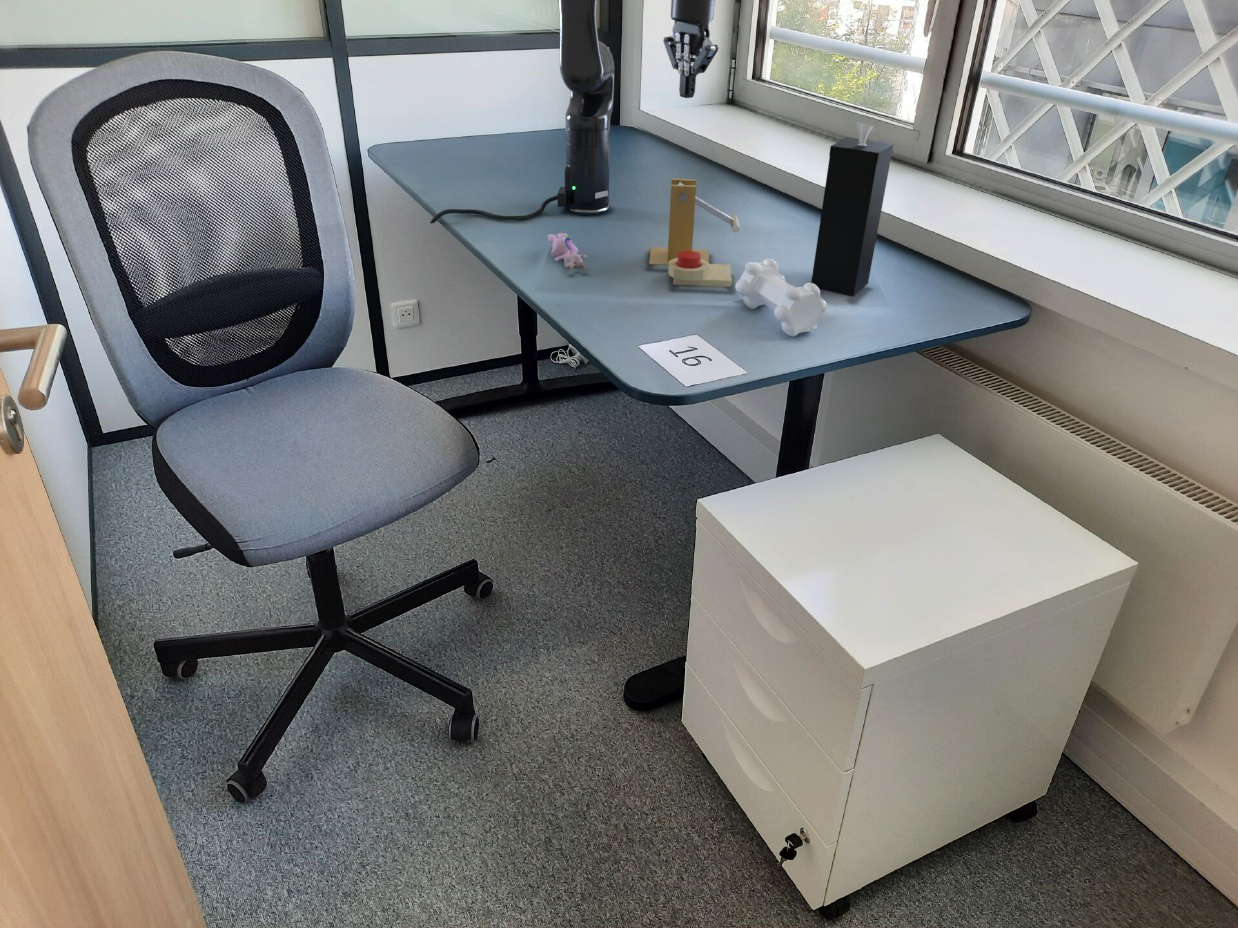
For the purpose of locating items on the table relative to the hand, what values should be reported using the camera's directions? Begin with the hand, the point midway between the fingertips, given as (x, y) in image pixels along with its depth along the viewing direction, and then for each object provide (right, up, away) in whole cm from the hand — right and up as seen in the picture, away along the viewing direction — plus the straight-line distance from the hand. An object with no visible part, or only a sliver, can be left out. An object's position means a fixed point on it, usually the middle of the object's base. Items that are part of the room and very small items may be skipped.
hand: (686, 97), depth 161 cm
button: (0, -33, -8) cm, 34 cm away
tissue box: (+26, -37, -6) cm, 46 cm away
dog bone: (+13, -44, -18) cm, 49 cm away
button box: (+2, -35, -5) cm, 35 cm away
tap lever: (+3, -22, -1) cm, 22 cm away
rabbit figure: (-22, -30, +3) cm, 37 cm away
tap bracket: (-1, -29, +4) cm, 30 cm away
